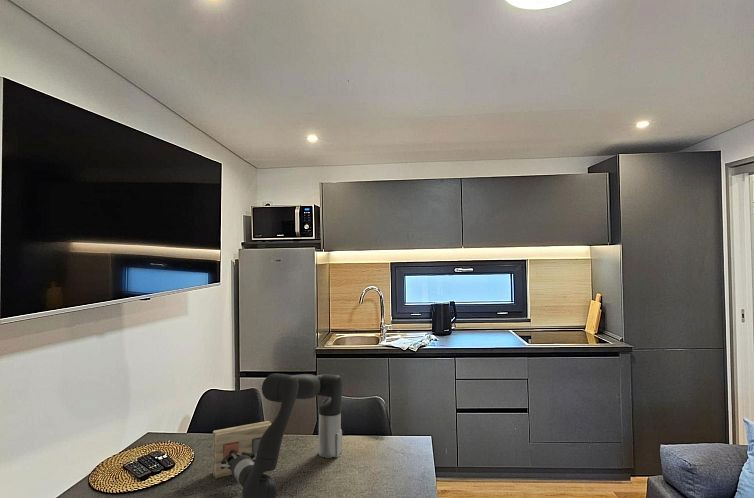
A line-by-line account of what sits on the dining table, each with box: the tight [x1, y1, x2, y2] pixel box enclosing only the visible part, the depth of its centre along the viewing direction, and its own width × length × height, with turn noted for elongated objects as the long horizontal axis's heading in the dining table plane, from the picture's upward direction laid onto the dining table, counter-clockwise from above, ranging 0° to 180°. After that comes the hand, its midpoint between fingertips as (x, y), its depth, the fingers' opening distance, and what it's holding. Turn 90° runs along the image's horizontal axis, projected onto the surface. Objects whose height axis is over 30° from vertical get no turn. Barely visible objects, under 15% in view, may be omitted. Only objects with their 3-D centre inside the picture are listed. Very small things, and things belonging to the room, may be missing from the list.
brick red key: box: [223, 442, 239, 458], centre depth 176 cm, size 3×5×5 cm, turn 122°
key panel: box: [212, 420, 272, 479], centre depth 181 cm, size 5×22×16 cm, turn 122°
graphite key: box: [252, 437, 262, 454], centre depth 182 cm, size 3×5×5 cm, turn 122°
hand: (232, 452), depth 174 cm, fingers closed
